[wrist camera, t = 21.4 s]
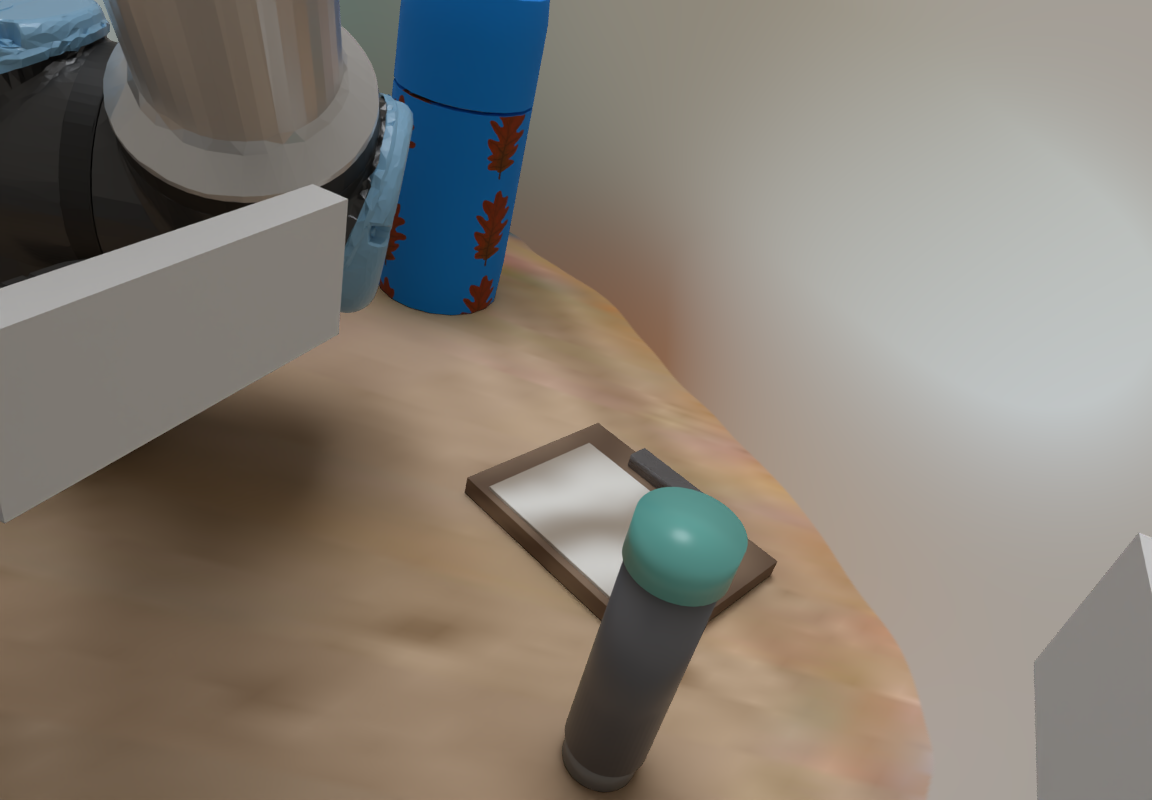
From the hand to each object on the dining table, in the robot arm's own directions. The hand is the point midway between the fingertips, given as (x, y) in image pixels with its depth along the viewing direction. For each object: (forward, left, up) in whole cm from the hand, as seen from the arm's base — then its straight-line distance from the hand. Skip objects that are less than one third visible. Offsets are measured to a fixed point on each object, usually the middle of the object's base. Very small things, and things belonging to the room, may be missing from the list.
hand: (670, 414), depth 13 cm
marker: (-5, +13, -28) cm, 31 cm away
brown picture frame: (-15, +25, -28) cm, 40 cm away
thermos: (-46, +34, -28) cm, 64 cm away
